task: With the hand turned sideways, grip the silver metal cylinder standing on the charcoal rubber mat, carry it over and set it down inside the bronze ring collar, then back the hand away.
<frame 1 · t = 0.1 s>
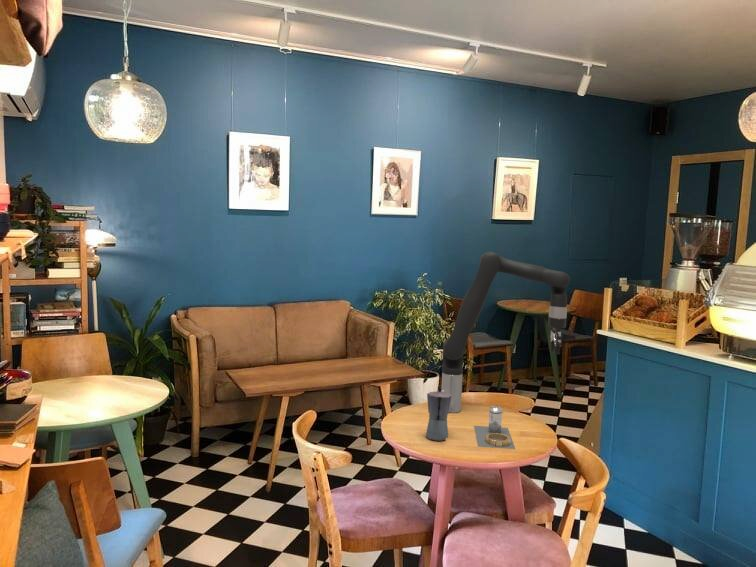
hand: (555, 352, 263), 29 cm above the table, tool pointing down, fingers open, 8 cm apart
ring collar: (497, 442, 227), resting on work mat
moka pot: (437, 438, 232), on the table
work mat: (493, 439, 233), on the table
silver metal cylinder: (494, 431, 239), point 1 cm above the table, touching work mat
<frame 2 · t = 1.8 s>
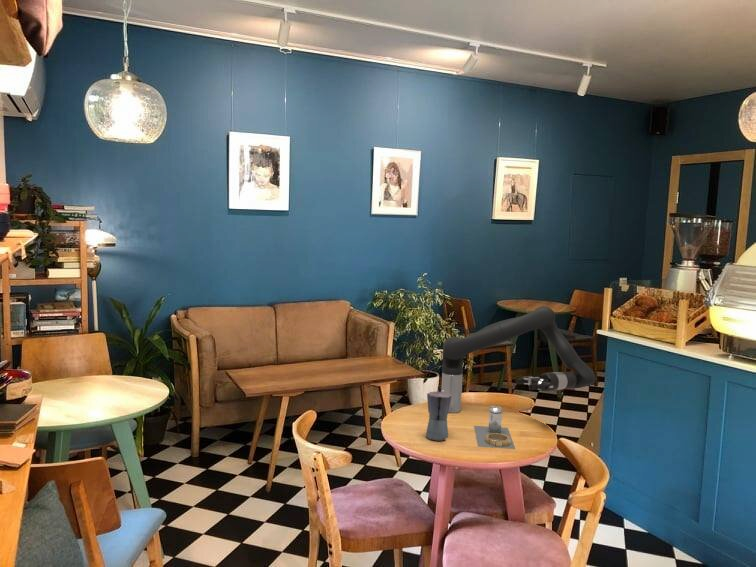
hand: (522, 384, 244), 19 cm above the table, tool horizontal, fingers open, 8 cm apart
nothing on the table moved.
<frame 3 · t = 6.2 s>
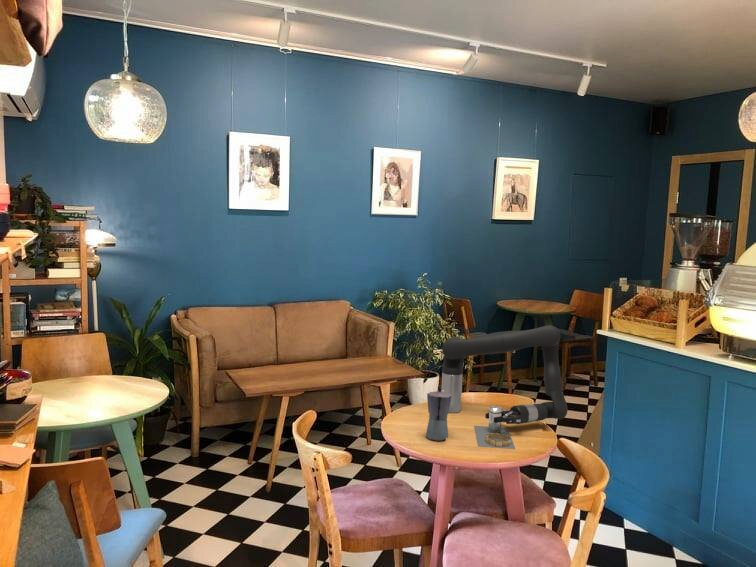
hand: (490, 418, 237), 7 cm above the table, tool horizontal, fingers closed on silver metal cylinder, 5 cm apart
silver metal cylinder: (494, 431, 239), point 1 cm above the table, touching gripper, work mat
everything else where it was.
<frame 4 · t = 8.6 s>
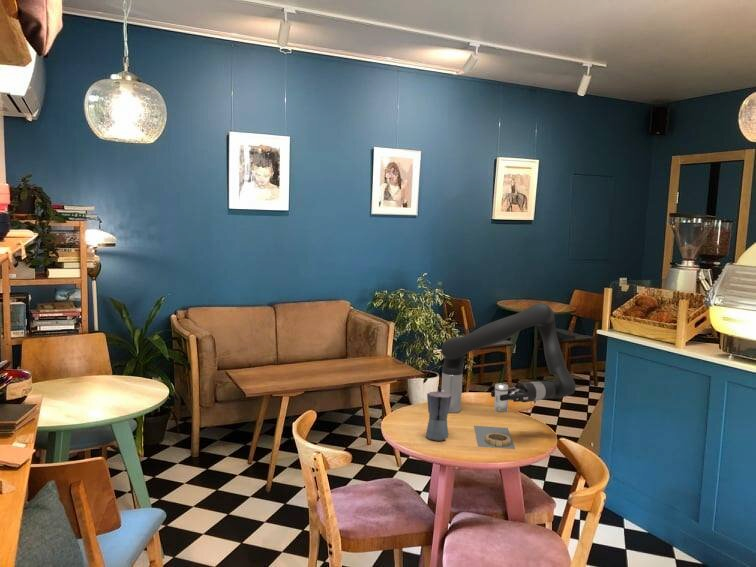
hand: (496, 396, 227), 19 cm above the table, tool horizontal, fingers closed on silver metal cylinder, 5 cm apart
silver metal cylinder: (500, 410, 228), point 13 cm above the table, touching gripper
everything else where it was.
when the fingers open (8 cm above the table, at t = 11.2 s): silver metal cylinder drops 1 cm, resting on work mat.
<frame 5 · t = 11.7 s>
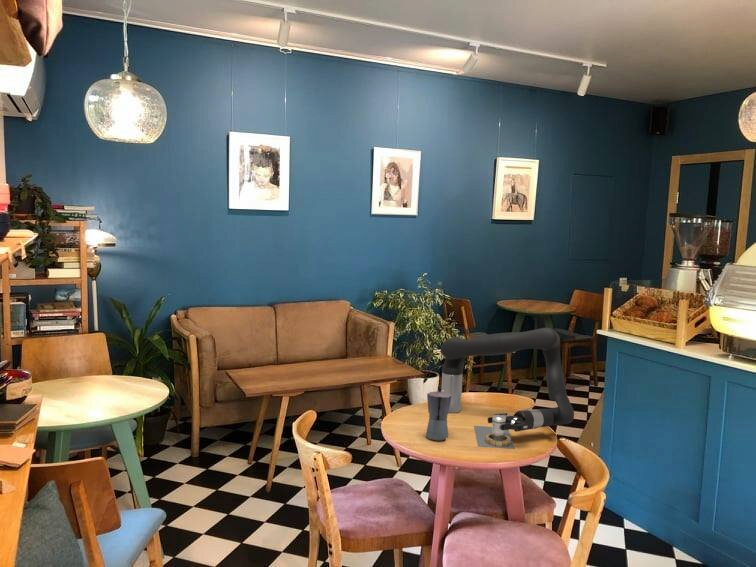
hand: (494, 423, 226), 8 cm above the table, tool horizontal, fingers open, 8 cm apart
silver metal cylinder: (497, 442, 227), point 1 cm above the table, touching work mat
everything else where it was.
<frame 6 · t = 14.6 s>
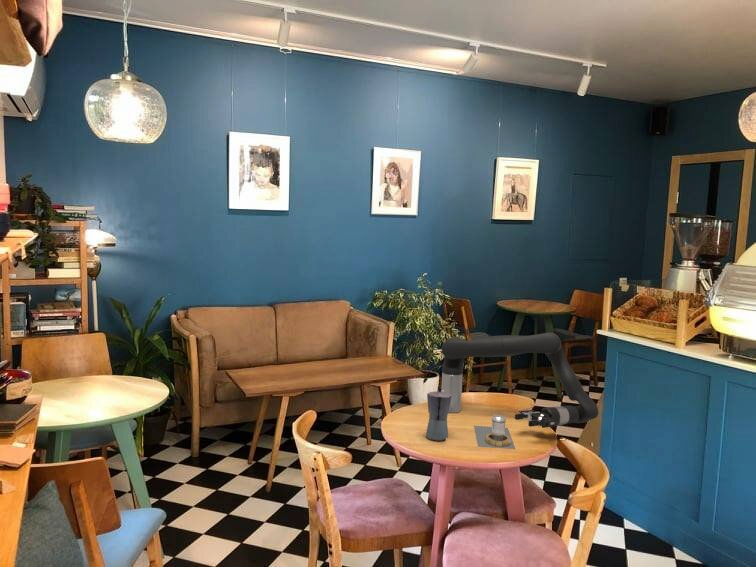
hand: (522, 420, 231), 9 cm above the table, tool horizontal, fingers open, 8 cm apart
nothing on the table moved.
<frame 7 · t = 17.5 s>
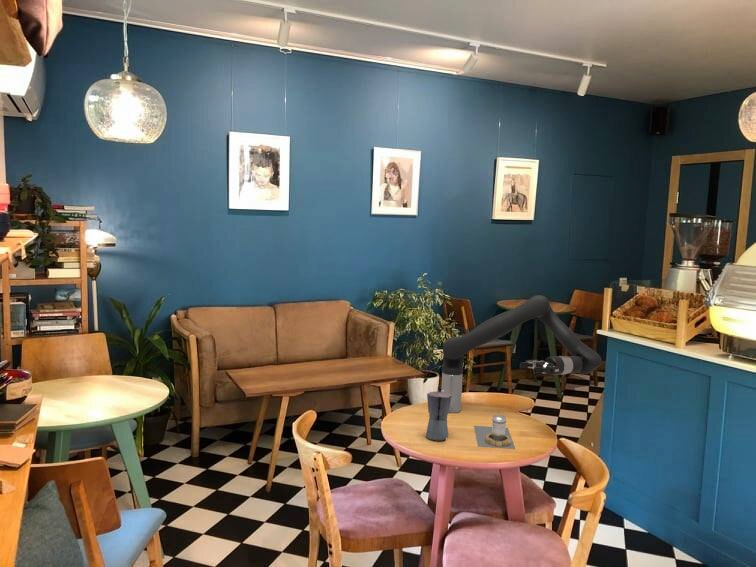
hand: (527, 368, 236), 28 cm above the table, tool horizontal, fingers open, 8 cm apart
nothing on the table moved.
at the end: silver metal cylinder 0.1 cm off-centre on the ring collar, point 0.1 cm above the ring collar's base; silver metal cylinder tilted 2°; the gripper is holding nothing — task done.
